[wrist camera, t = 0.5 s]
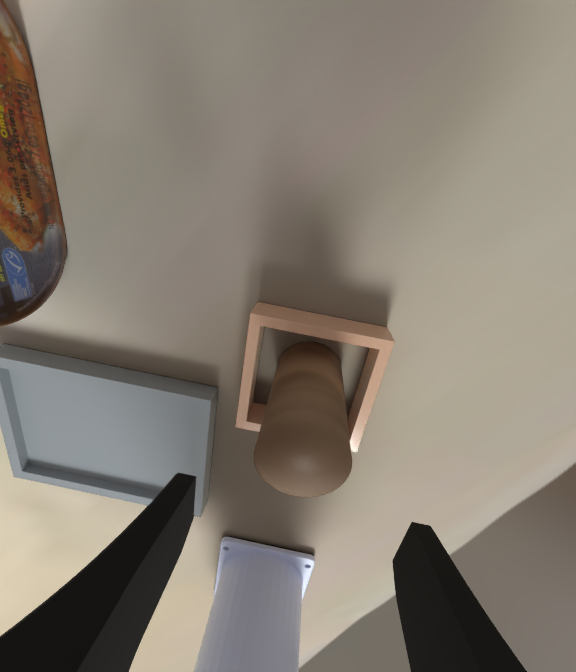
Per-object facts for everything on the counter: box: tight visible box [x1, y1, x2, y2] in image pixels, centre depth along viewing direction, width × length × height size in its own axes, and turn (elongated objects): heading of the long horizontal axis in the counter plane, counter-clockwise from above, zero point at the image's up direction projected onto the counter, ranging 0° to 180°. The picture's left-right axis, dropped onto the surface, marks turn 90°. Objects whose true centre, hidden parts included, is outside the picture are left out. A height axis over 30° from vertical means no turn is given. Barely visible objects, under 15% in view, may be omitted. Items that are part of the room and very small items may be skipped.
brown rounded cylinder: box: [254, 342, 352, 497], centre depth 16 cm, size 4×4×8 cm
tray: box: [0, 344, 218, 517], centre depth 22 cm, size 11×15×2 cm
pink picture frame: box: [236, 302, 395, 452], centre depth 19 cm, size 8×8×2 cm
